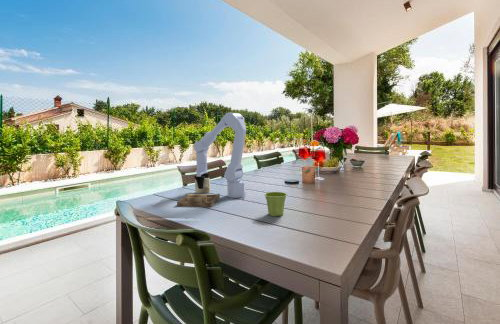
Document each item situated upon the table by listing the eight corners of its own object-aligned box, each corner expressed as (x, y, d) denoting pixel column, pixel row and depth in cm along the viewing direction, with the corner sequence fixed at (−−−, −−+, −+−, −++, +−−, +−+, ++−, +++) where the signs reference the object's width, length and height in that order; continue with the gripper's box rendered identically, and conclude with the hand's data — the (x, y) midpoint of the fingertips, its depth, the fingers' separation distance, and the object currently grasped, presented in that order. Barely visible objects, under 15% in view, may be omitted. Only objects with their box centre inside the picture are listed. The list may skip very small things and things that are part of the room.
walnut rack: (219, 199, 145) (219, 193, 145) (211, 209, 127) (211, 202, 127) (189, 198, 147) (189, 193, 147) (177, 208, 129) (177, 202, 129)
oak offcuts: (206, 203, 133) (206, 194, 133) (205, 205, 130) (205, 195, 130) (188, 203, 134) (188, 194, 134) (186, 205, 131) (186, 195, 131)
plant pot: (260, 215, 117) (260, 195, 116) (270, 210, 125) (269, 190, 124) (282, 219, 112) (282, 197, 111) (290, 212, 121) (290, 192, 120)
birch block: (210, 194, 158) (209, 178, 157) (209, 194, 156) (209, 178, 155) (196, 193, 159) (195, 178, 158) (195, 194, 157) (194, 178, 156)
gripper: (198, 161, 163) (199, 184, 165) (190, 164, 149) (191, 190, 150) (210, 161, 162) (211, 184, 164) (203, 164, 148) (204, 190, 149)
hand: (202, 187), depth 157 cm, fingers open, 7 cm apart
